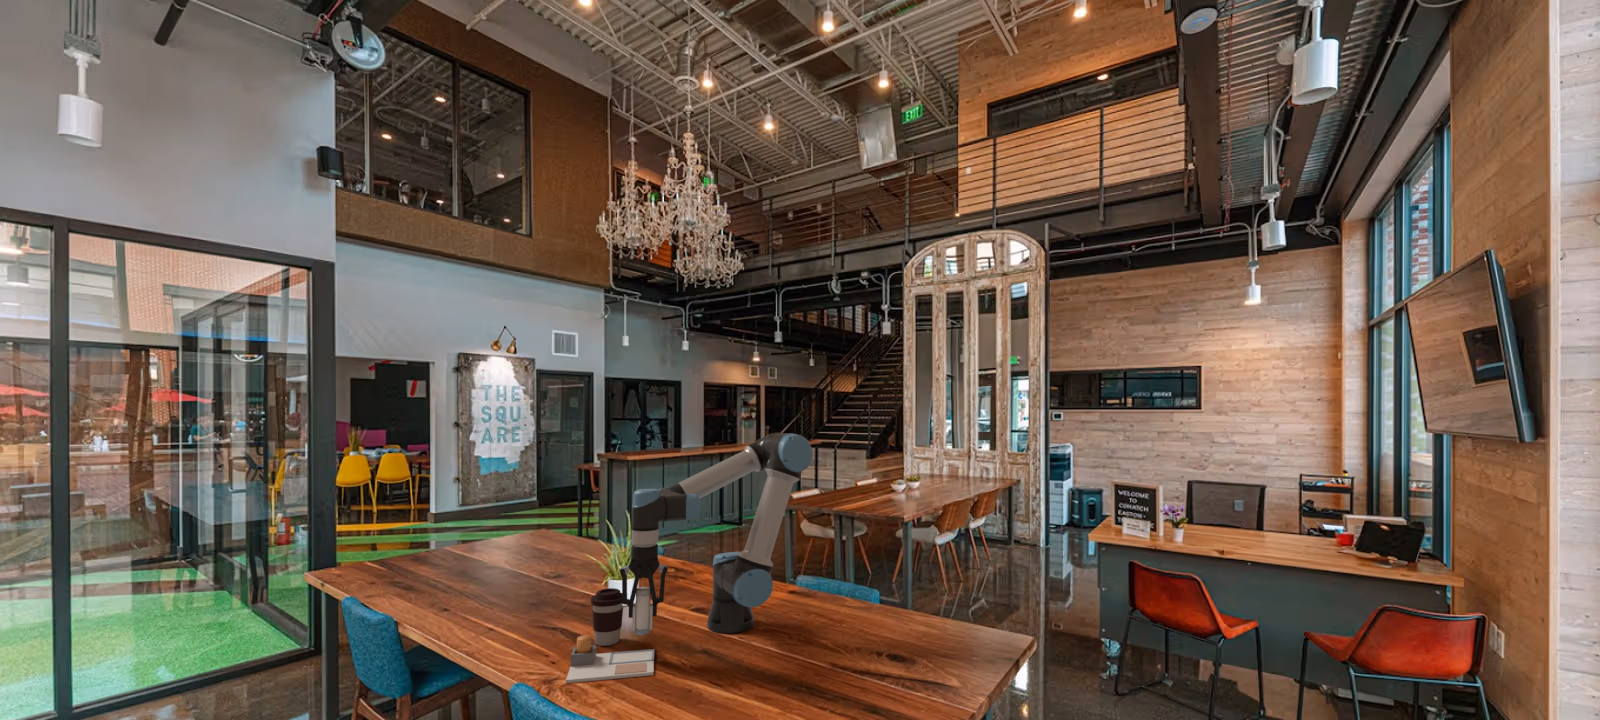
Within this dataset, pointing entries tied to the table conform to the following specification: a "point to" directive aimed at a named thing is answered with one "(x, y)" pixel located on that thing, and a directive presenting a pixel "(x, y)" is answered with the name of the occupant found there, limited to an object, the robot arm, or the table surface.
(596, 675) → the sheet board
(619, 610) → the coffee cup
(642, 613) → the cylinder
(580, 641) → the button
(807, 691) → the table surface
